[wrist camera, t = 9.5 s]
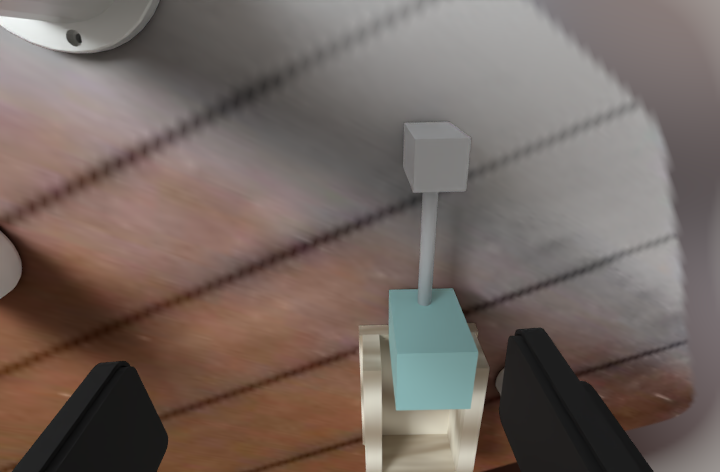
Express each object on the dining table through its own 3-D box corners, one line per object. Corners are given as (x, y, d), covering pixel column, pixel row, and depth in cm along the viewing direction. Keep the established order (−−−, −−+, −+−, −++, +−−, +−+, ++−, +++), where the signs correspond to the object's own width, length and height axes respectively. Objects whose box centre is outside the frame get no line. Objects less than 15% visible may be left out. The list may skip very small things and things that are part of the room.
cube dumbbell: (388, 123, 25) (401, 151, 18) (464, 121, 25) (507, 148, 18) (387, 331, 33) (396, 410, 25) (445, 329, 33) (470, 408, 25)
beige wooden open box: (358, 325, 33) (358, 371, 28) (474, 322, 32) (493, 368, 28) (362, 434, 39) (363, 486, 34) (460, 432, 39) (474, 484, 34)
